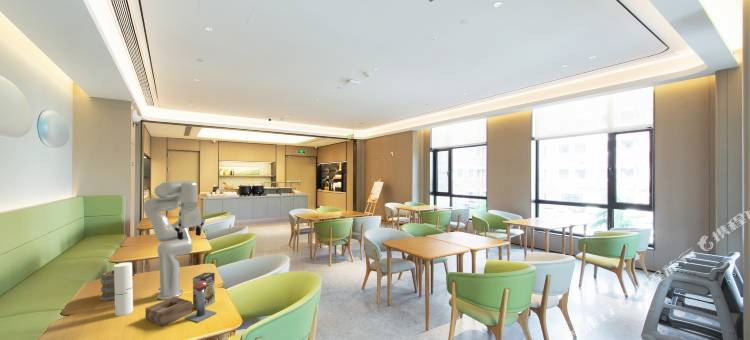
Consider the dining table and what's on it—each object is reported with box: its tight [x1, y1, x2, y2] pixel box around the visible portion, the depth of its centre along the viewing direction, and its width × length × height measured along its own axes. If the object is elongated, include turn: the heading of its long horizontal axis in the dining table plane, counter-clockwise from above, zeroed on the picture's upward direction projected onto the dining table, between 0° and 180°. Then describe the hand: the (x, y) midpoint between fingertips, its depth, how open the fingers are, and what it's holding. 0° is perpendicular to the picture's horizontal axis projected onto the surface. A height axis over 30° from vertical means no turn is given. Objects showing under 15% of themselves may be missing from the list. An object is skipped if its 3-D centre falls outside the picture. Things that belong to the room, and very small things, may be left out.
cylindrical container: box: [113, 261, 134, 317], centre depth 157 cm, size 7×7×25 cm
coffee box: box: [192, 272, 216, 309], centre depth 165 cm, size 9×6×16 cm
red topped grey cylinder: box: [192, 281, 207, 317], centre depth 153 cm, size 6×6×16 cm
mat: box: [184, 308, 218, 323], centre depth 153 cm, size 10×10×1 cm
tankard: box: [99, 269, 136, 302], centre depth 178 cm, size 20×13×15 cm, turn 76°
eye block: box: [144, 297, 193, 327], centre depth 153 cm, size 14×14×6 cm
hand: (189, 237), depth 163 cm, fingers open, 9 cm apart
